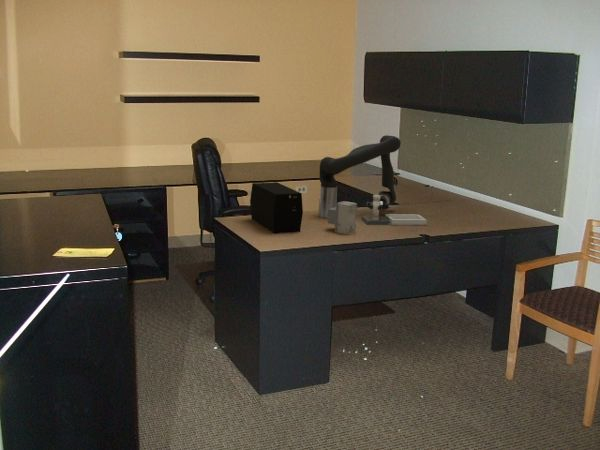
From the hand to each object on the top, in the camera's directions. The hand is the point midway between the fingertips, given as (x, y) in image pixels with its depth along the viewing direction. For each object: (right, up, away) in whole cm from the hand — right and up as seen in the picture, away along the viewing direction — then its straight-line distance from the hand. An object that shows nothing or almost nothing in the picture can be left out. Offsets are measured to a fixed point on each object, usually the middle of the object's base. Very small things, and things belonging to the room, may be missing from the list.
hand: (374, 207), depth 359 cm
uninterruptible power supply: (-53, -10, -12) cm, 56 cm away
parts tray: (+17, -8, +6) cm, 20 cm away
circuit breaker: (-20, -13, -18) cm, 29 cm away
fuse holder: (+1, -8, +5) cm, 9 cm away
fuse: (+1, -8, +5) cm, 9 cm away
